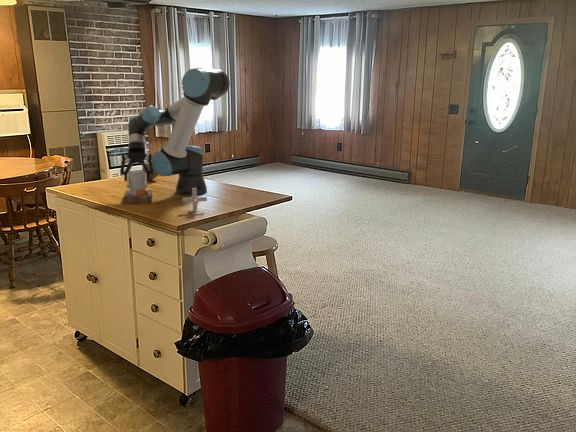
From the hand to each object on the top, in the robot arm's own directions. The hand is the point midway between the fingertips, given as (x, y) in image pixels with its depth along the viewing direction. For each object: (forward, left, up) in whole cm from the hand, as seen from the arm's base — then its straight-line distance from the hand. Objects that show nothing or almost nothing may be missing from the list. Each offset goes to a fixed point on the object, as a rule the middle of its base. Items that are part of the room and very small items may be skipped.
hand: (137, 186), depth 226 cm
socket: (0, -3, -7) cm, 8 cm away
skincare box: (+1, -3, -6) cm, 7 cm away
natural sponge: (+3, -47, -7) cm, 48 cm away
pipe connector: (-28, +16, -7) cm, 32 cm away
